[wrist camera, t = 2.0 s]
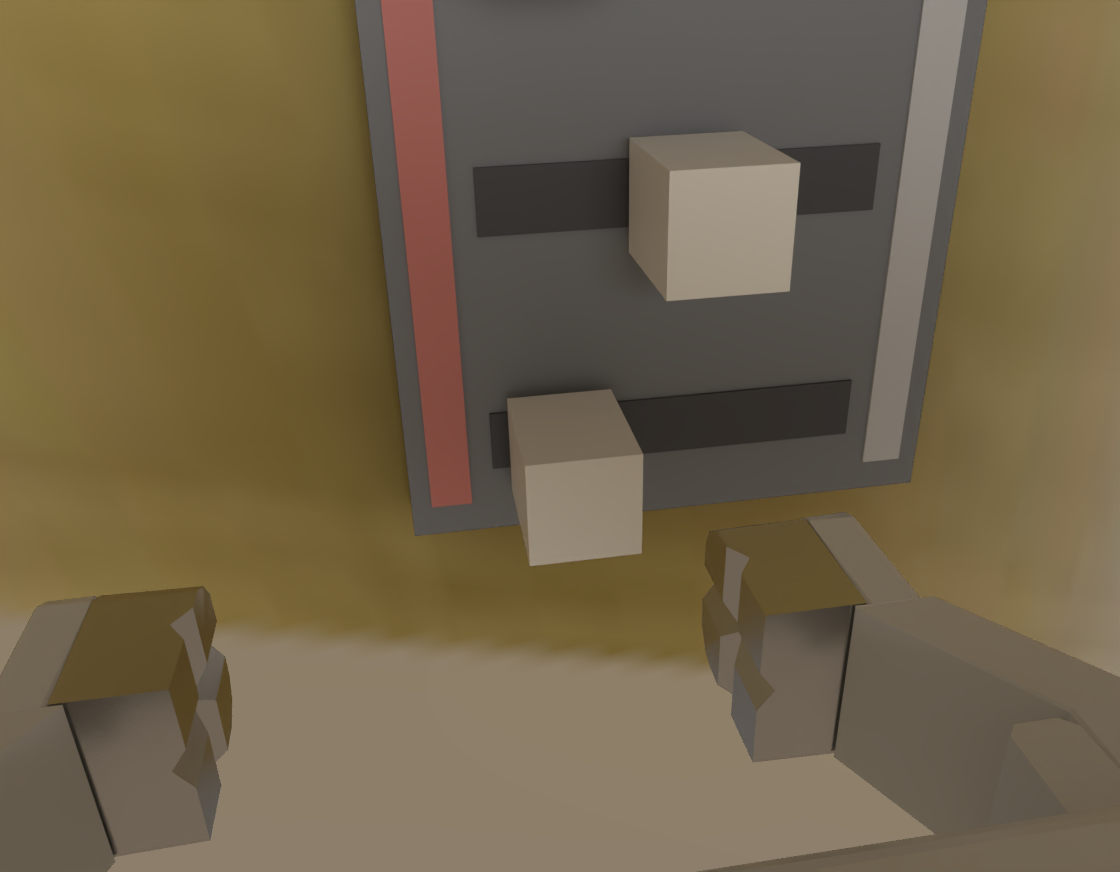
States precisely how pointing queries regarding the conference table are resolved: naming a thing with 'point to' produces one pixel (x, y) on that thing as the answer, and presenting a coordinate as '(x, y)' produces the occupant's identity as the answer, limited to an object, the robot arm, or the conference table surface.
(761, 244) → the block
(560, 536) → the block
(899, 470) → the panel
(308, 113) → the conference table surface
